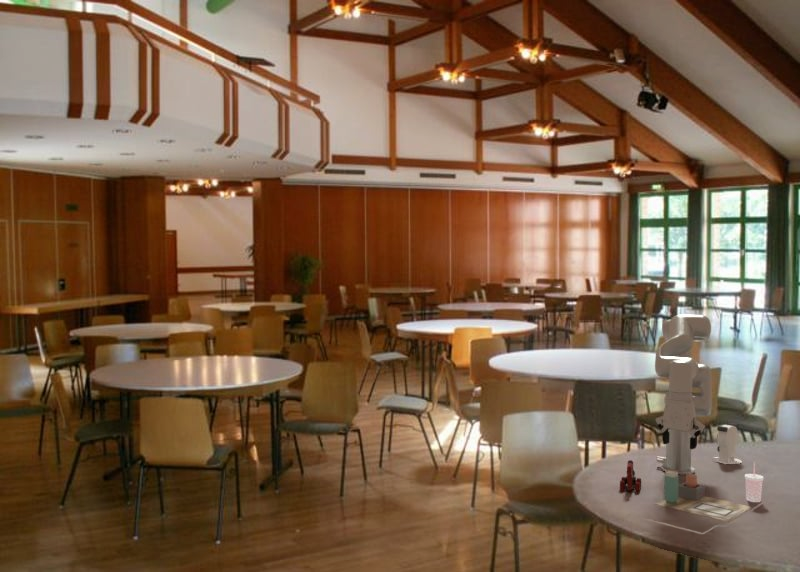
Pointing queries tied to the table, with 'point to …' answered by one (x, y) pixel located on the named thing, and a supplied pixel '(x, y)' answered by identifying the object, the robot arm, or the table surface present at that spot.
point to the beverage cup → (753, 486)
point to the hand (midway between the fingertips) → (679, 446)
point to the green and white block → (671, 487)
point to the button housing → (691, 492)
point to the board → (708, 507)
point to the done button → (691, 480)
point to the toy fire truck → (630, 479)
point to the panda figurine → (727, 442)
